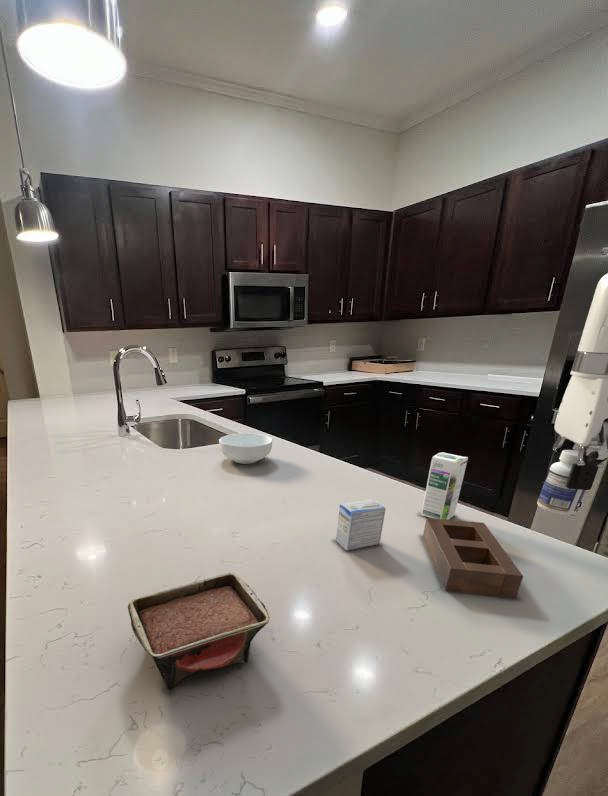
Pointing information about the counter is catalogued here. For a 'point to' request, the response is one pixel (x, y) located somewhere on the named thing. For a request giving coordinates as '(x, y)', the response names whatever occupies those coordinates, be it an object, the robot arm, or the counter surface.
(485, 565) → the holder
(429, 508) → the syrup box
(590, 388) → the robot arm
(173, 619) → the baking dish
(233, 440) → the cereal bowl
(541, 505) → the pill bottle
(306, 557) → the counter surface
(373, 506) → the medicine box
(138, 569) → the counter surface
